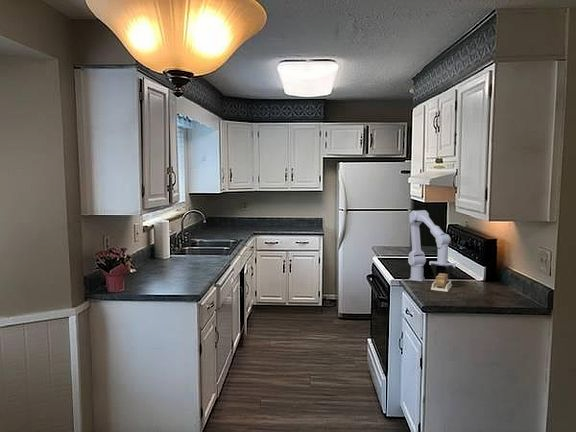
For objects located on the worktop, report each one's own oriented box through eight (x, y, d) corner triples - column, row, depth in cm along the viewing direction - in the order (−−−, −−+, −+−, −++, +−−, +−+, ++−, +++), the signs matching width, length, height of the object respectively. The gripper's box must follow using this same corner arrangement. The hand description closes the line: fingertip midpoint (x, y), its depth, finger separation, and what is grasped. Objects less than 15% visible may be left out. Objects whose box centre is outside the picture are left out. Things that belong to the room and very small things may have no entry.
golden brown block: (439, 281, 269) (439, 272, 268) (447, 282, 266) (447, 273, 266) (435, 285, 258) (435, 277, 258) (443, 286, 256) (443, 278, 255)
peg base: (435, 284, 271) (436, 279, 271) (451, 286, 267) (452, 280, 266) (430, 289, 259) (431, 284, 259) (447, 291, 254) (447, 286, 254)
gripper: (428, 255, 261) (427, 277, 262) (454, 257, 254) (453, 280, 255) (431, 253, 267) (430, 275, 268) (456, 255, 260) (455, 278, 261)
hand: (441, 278), depth 262 cm, fingers open, 7 cm apart
